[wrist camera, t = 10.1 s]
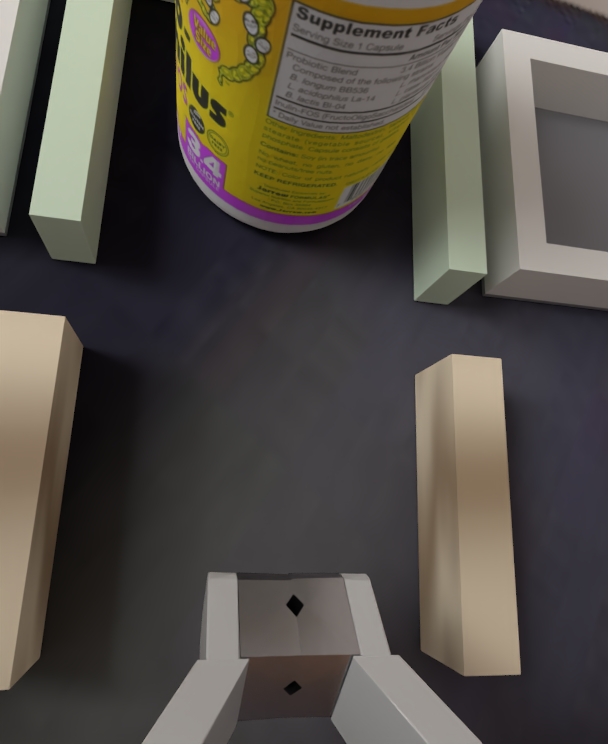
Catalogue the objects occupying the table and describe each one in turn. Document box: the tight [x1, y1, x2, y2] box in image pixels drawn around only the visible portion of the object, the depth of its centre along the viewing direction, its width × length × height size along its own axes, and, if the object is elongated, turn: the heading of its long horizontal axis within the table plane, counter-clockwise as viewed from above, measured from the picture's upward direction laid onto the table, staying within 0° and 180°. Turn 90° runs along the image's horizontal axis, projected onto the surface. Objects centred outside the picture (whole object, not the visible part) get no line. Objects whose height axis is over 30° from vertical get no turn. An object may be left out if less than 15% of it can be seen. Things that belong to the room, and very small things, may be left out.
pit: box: [476, 29, 608, 311], centre depth 20 cm, size 9×9×2 cm
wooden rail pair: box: [0, 310, 521, 690], centre depth 14 cm, size 8×13×2 cm, turn 88°
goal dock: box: [29, 0, 487, 305], centre depth 17 cm, size 11×12×2 cm
